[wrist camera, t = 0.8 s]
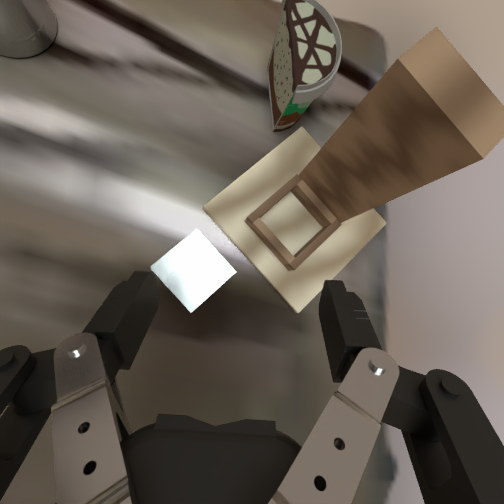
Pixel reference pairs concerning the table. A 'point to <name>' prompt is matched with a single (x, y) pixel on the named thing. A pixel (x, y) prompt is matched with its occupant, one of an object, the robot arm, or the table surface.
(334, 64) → the food container
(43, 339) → the table surface
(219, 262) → the grey rectangular block
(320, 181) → the wooden backboard stand
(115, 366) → the robot arm
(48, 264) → the table surface
